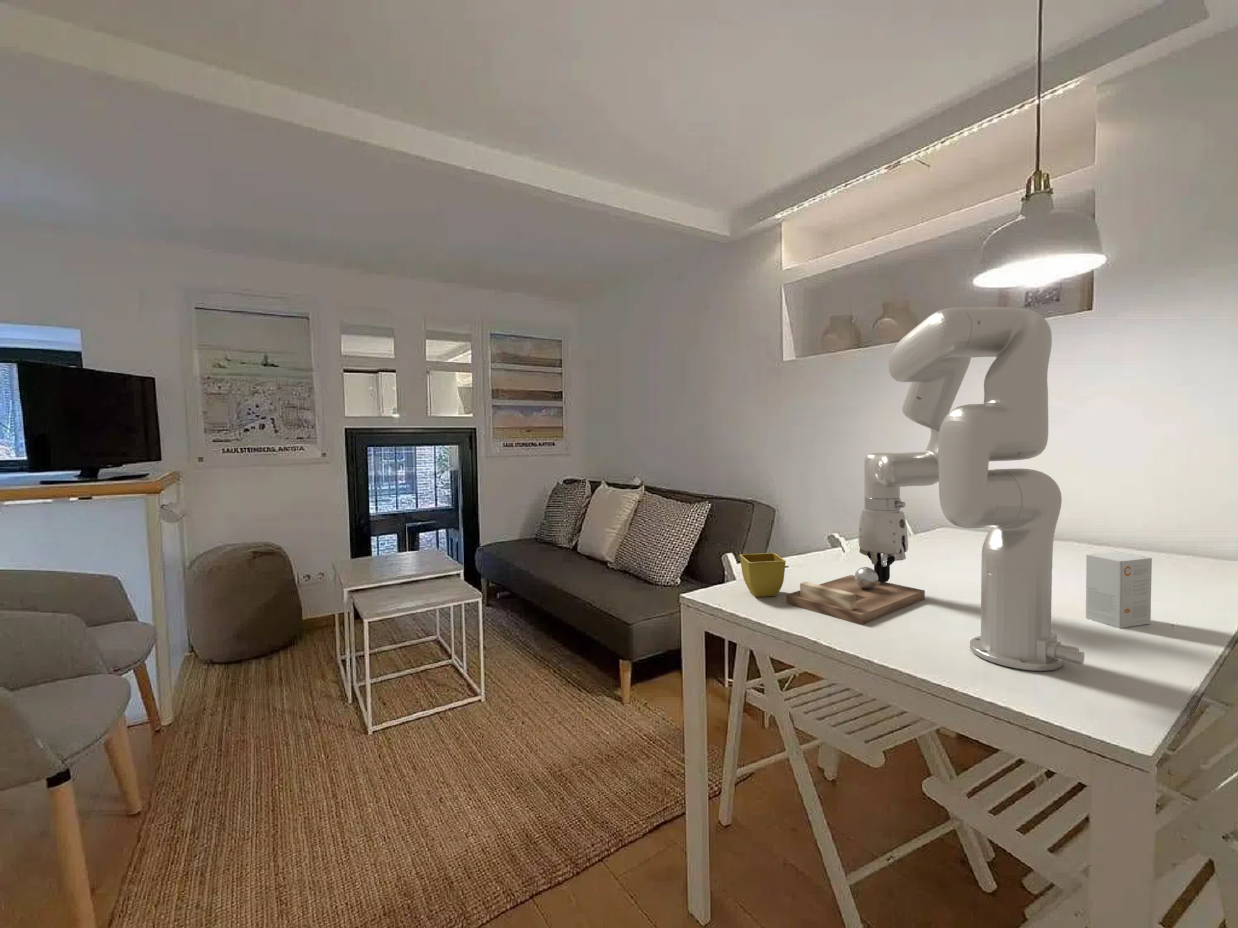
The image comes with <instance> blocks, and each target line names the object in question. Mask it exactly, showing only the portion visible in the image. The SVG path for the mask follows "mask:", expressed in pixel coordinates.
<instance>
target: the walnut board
mask: <svg viewBox="0 0 1238 928" xmlns="http://www.w3.org/2000/svg"><path fill="white" fill-rule="evenodd" d="M799 586H800V587H799V590H797V591H793V592H789V593H788V594H787V593H786V594H785V597H786V598H785V599H786V600H785V603H786V604H789V605H791V606H795V607H798V608H802V609H805V610H808V611H813V612H816V613H819V614H823V615H826V616H830V617H833V618H837V619H839V620H844V621H847V622H850V623H854V624H857V625H865V624H867V623H870V622H872V621H875V620H876V619H879V618H881V617H884V616H887V615H889V614H892V613H894V612H896V611H899V610H901V609H904V608H907V607H909V606H911V605H913V604H916V603H918V602H921V601H923V600H925V598H926V593H925V592H926V590H925V589H920V588H914V587H911V586H905V585H900V584H896V583H890V582H888V581H887V582H884V583H880V582H878V583H877V585H876V586H875V587H874V588H872V589H863V588H861V587H860V586H858V585H857V583H856V581H855V574H849V575H846V576H843V577H840V578H835V579H833V580H830V581H827V582H823V583H820V584H816V583H813V582H808V581H804V582H800V584H799Z"/></svg>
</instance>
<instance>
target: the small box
mask: <svg viewBox="0 0 1238 928" xmlns="http://www.w3.org/2000/svg"><path fill="white" fill-rule="evenodd" d="M1152 561H1153V558H1152V557H1149V556H1143V555H1139V554H1132V553H1127V552H1122V551H1109V552H1108V551H1107V552H1100V553H1099V552H1098V553H1090V554H1086V567H1085V568H1086V569H1085V570H1086V571H1085V573H1086V575H1085V577H1086V578H1085V579H1086V580H1085V581H1086V583H1085V584H1086V585H1085V587H1086V588H1085V589H1086V590H1085V618H1086V620H1087V619H1088V620H1090V619H1092V620H1091V621H1093V620H1094V622H1097V621H1098V623H1100V622H1101V624H1104V625H1107V624H1109V625H1108V626H1110V625H1112V626H1111V627H1114V626H1115V627H1114V628H1117V627H1118V629H1125V628H1131V627H1137V626H1143V625H1150V624H1152V622H1151V620H1152V619H1151V618H1152V614H1151V613H1152V570H1153V567H1152V566H1153V565H1152V563H1153V562H1152Z"/></svg>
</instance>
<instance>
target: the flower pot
mask: <svg viewBox="0 0 1238 928" xmlns="http://www.w3.org/2000/svg"><path fill="white" fill-rule="evenodd" d="M739 559H740V560H739V561H740V567H741V573H742V578H743V581H744V583H745V584H746V587H747V589H748V590H749V592H750V593H751V594H752V595H753V596H754V597H756V598H761V597H776V596H778V594H779V592H780V591H781V589H782V587H783V584H784V579H785V571H786V562H787V561H786V560H785V559H784V558H782V557H781V556H779V555H778V554H776V553H775V552H767V553H765V552H763V553H742V554H739Z"/></svg>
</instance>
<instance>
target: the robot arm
mask: <svg viewBox="0 0 1238 928" xmlns="http://www.w3.org/2000/svg"><path fill="white" fill-rule="evenodd" d="M1052 345H1053V338H1052V330H1051V326H1050V325H1049V323H1048V321H1047V320H1046V318H1045V317H1044V315H1043V316H1042V315H1041V314H1040V313H1039V312H1037V311H1035V310H1031V309H1027V308H1021V307H1005V306H986V307H947V308H943V309H939V310H937V311H935V312H934V313H932V314H930V315H929V316H928V317H927V318H925V319H924V320H923V321H921V322H920V323H919V324H918V325H917V326H915V327H914V328H912V330H910V331H909V332H908V333H906V335H904V336H903V337H902V338H901V339H900V340H899V341H898V342H897V344H896V345H895V347H894V348H893V350H892V352H891V354H890V356H889V360H888V361H889V362H888V372H889V374H890V376H891V377H892V378H893V379H894V380H895V381H896V382H899V383H910V386H909V389H908V390H907V393H906V396H905V397H904V398H905V399H904V400H903V401H904V402H903V404H902V413H903V414H904V416H906V418H908V419H909V420H910V421H912V422H914V423H916V424H919V425H920V426H923V427H926V428H928V429H930V439H929V442H928V444H927V447H926V449H925V450H924V451H920V452H919V451H918V452H917V451H916V452H914V451H913V452H911V451H910V452H894V453H893V452H871V453H870V452H869V453H868V454H866V455H865V457H864V460H863V461H864V463H863V464H864V470H863V471H864V508H863V509H862V510H861V514H860V518H859V523H858V524H859V526H858V539H857V540H858V547H859V549H858V550H859V553H860V554H862V555H863V556H866V557H867V558H869V560H870V561H871V564H872V565H873V566H874V567H873V570H874V571H875V572H876V573H877V575H878V582H880V583H884V582H887V583H888V582H889V580H890V577H891V572H890V570H891V567H890V566H891V565H893V563H895V562H898V561H904V560H906V559H907V557H906V552H908V549H909V540H908V527H907V521H906V517H905V513H904V511H903V510H901V508H906V502H905V501H902V500H901V489H900V488H902V487H904V488H905V487H925V486H926V487H927V486H933V485H935V484H937V483H938V493H939V494H938V496H939V497H938V498H939V503H940V508H941V510H942V513H943V515H944V517H945V518H946V520H948V522H949V523H951V524H952V525H954V526H956V527H959V528H963V529H964V528H965V529H985V528H986V529H987V528H990V529H989V530H988V533H987V534H986V537H985V538H984V541H983V544H982V548H981V570H980V571H981V572H980V573H981V576H980V577H981V578H980V579H981V581H980V582H981V583H980V585H981V587H980V588H981V589H980V590H981V591H980V636H975V637H973V638H972V639H970V640H969V641H970V642H969V648H970V651H972V652H973V653H974V654H975V655H976V656H978V657H979V658H980V659H983V660H986V661H987V662H991V663H994V664H997V665H1000V666H1004V667H1007V668H1008V667H1009V668H1013V669H1018V670H1024V671H1035V672H1037V671H1039V672H1044V671H1053V670H1057V669H1059V668H1061V667H1062V666H1063V663H1064V661H1067V662H1068V663H1073V664H1077V665H1084V663H1085V662H1084V661H1085V653H1084V652H1082V651H1080V648H1079V647H1076V646H1073V645H1069V644H1068V645H1066V644H1062V643H1061V642H1060V641H1058V633H1056V632H1052V594H1053V593H1052V591H1053V589H1052V585H1053V580H1052V579H1053V553H1054V552H1053V551H1054V540H1055V539H1054V538H1055V533H1056V529H1057V528H1056V527H1057V523H1058V520H1059V516H1060V513H1061V507H1062V500H1063V499H1062V498H1063V497H1062V493H1061V489H1060V486H1059V484H1058V483H1057V482H1056V481H1055V480H1054V479H1053V478H1052V476H1049V474H1046V473H1045V472H1043V471H1040V470H1036V469H1030V468H999V469H998V468H996V469H989V462H1006V461H1007V462H1009V461H1022V460H1029V459H1033V458H1036V457H1038V456H1039V455H1041V454H1042V453H1043V452H1044V451H1045V449H1046V447H1047V446H1048V438H1049V387H1048V373H1049V372H1048V371H1049V363H1050V357H1051V351H1052ZM972 358H995V359H994V360H993V361H992V363H991V364H990V366H989V368H988V370H987V372H986V374H985V376H984V381H983V393H984V395H983V403H971V404H969V403H968V404H964V405H963V404H962V405H959V406H957V407H955V408H953V409H952V407H953V404H954V401H955V399H956V397H957V395H958V392H959V389H960V387H961V386H962V384H963V383H962V382H963V380H964V378H965V375H966V373H967V371H968V368H969V366H970V363H971V359H972ZM951 409H952V410H951Z"/></svg>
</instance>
